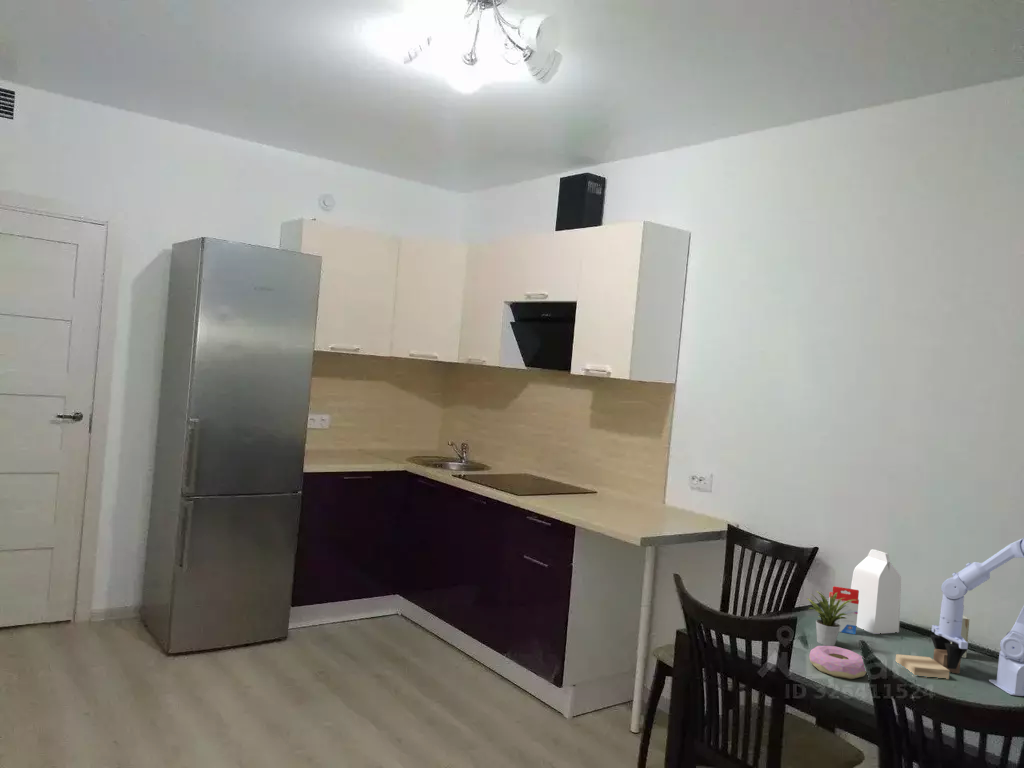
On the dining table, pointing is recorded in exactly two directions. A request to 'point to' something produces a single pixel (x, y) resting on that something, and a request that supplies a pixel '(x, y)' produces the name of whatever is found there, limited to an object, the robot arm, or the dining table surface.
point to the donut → (837, 661)
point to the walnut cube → (944, 659)
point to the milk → (877, 593)
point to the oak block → (923, 666)
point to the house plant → (828, 619)
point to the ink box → (847, 609)
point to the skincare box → (965, 631)
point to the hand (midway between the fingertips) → (946, 664)
